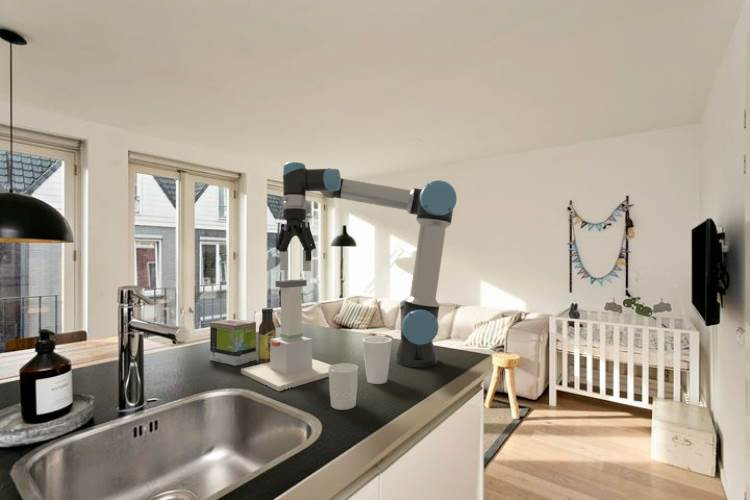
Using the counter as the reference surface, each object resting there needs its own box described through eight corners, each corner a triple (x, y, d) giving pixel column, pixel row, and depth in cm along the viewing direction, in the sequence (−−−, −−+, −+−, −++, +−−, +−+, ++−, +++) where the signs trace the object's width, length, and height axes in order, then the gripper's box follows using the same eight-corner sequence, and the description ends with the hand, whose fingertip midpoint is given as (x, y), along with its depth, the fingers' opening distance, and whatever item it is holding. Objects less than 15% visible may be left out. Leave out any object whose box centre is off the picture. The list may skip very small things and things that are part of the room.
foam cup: (395, 377, 123) (395, 337, 123) (387, 387, 114) (387, 344, 114) (368, 374, 126) (368, 335, 126) (357, 383, 117) (357, 341, 117)
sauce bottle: (270, 364, 137) (270, 310, 137) (254, 363, 138) (254, 309, 138) (278, 359, 143) (278, 307, 144) (263, 358, 145) (263, 307, 145)
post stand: (341, 372, 128) (341, 338, 128) (278, 391, 110) (278, 352, 111) (300, 358, 144) (300, 328, 145) (241, 373, 127) (241, 339, 127)
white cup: (329, 399, 104) (329, 363, 104) (357, 398, 105) (357, 362, 105) (328, 411, 96) (327, 372, 96) (358, 410, 97) (358, 371, 97)
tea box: (257, 360, 143) (257, 321, 143) (234, 366, 135) (234, 325, 135) (231, 354, 151) (231, 317, 151) (209, 360, 143) (209, 321, 143)
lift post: (307, 344, 129) (306, 280, 129) (283, 349, 122) (283, 281, 123) (298, 341, 133) (298, 279, 133) (275, 346, 126) (275, 280, 126)
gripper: (265, 210, 135) (266, 270, 135) (307, 204, 118) (307, 272, 118) (284, 212, 141) (284, 269, 141) (326, 206, 123) (326, 271, 123)
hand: (295, 270), depth 129 cm, fingers open, 13 cm apart
